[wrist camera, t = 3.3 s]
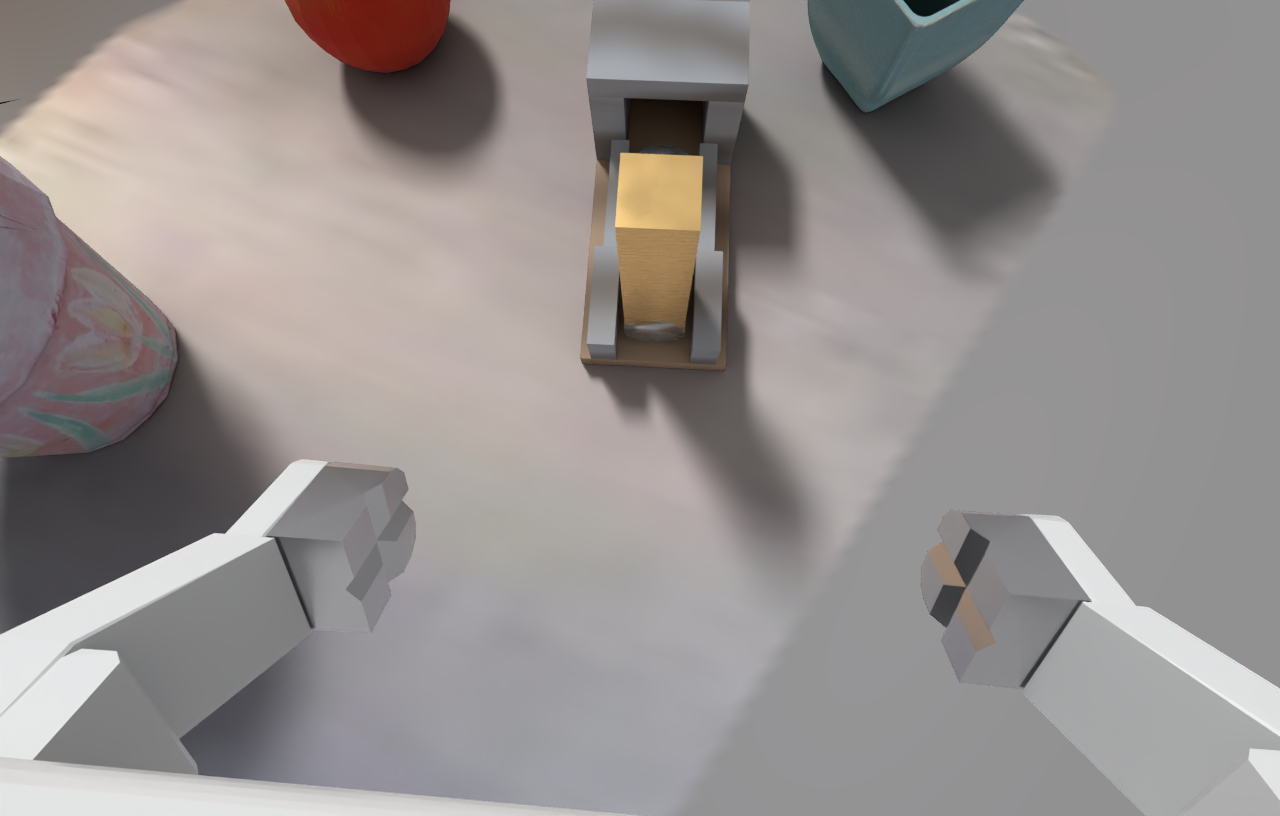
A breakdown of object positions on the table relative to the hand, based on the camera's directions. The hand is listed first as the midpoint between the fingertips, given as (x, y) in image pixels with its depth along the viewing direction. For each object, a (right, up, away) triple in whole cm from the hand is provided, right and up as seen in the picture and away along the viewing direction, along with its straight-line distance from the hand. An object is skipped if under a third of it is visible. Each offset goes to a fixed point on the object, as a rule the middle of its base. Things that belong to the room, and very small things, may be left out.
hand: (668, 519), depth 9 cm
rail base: (+1, +12, +26) cm, 29 cm away
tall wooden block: (+1, +10, +24) cm, 26 cm away
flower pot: (+14, +23, +29) cm, 39 cm away
